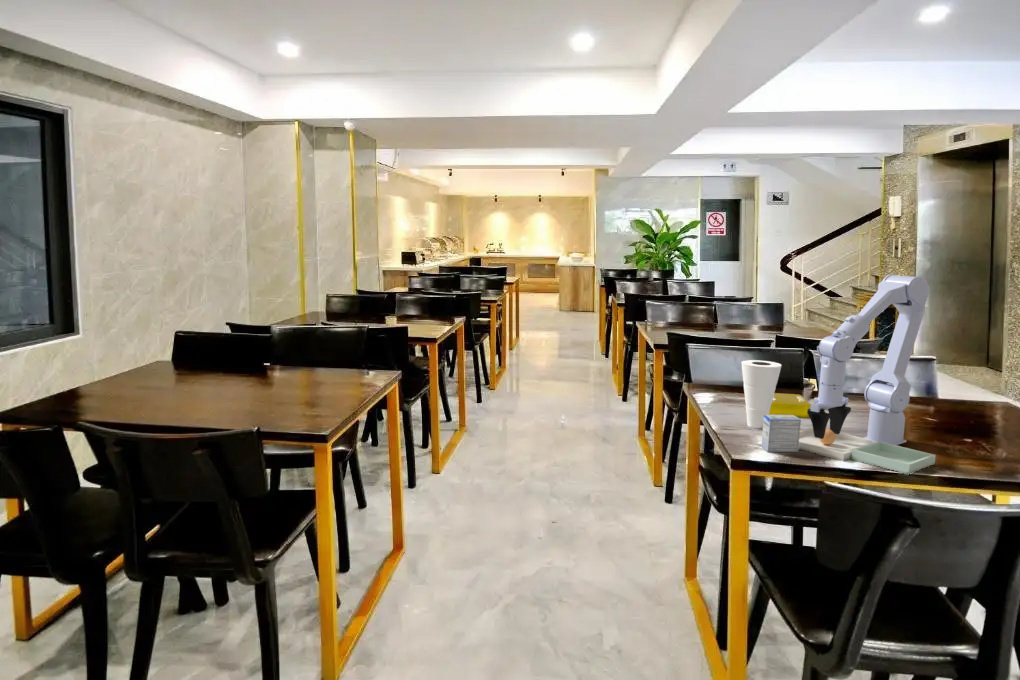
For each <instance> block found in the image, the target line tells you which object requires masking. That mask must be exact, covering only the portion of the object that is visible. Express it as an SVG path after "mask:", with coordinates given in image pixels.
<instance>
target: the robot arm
mask: <svg viewBox="0 0 1020 680" xmlns="http://www.w3.org/2000/svg"><path fill="white" fill-rule="evenodd" d="M930 292H931V288H930V286H929V284H928V282H927V281H926V279H925V278H924V277H922V276H911V275H910V276H907V275H897V274H893V273H892V274H888V275H886V276H885V277H884V278H883V279H882V280H881V281H880V282H879V283H878V285H877V291H876V292H875V294H874V295H872V296H871V298H870V299H869V300H868V301H867V303H866V304H865V305H864V307H863V308H862V309H861V310H860V311H859V313H858V314H853V315H850V316H847V317H846V318H844V321H843V322H842V324H841V325H840V326H839V327H838V328H836V330H834V331H833V332H832V334H831V335H828V336H825V337H823V338H822V339H821V340H820V341H819V344H818V345H817V346H816V352H817V354H818V355H819V363H820V374H819V385H818V395H817V397H814V398H813V402H812V403H810V404H811V408H810V409H808V410H807V413H808V415H809V420H810V421H811V427H813V431H814V436H815V437H816V438H820V439H823V438H824V435H825V431H826V429H827V426H828V422H829V430H832V431H833V432H834V433H835V434H839V433H841V430H842V428H843V425H844V422H845V421H846V418H847V417H848V415H849V414H850V412H851V411H852V410H851V409H852V408H851V407H849V406H848V405H849V397H845V396H844V390H845V377H846V369H847V368H846V367H847V365H846V364H847V361H848V360H849V359H850V358H851V357H852V356H853V354H854V349H855V348H856V346H857V345H856V344H857V343H858V342H859V341H860V340H861V339H862V338H864V336H865V335H866V334H867V333H868V332H869V331H870V323H871V322H873V320H876V318H877V317H878V316H879V315H881V313H883V312H884V311H885V310H886V309H887V308H888V307H889V306H891V305H893V306H894V308H896V310H897V311H898V313H899V314H898V317H897V321H896V323H895V326H894V330H893V333H892V337H891V339H890V343H889V345H888V349H887V352H886V356H885V359H884V361H883V365H882V369H881V370H880V371H878V372H876V373H875V374H873V375H872V376H871V379H870V382H869V383H868V384H867V385H866V387H865V388H864V393H863V394H864V396H863V397H864V399H865V402H867V407H869V413H868V414H869V415H868V416H869V417H868V424H867V435H866V436H864V437H863V438H865V439H869V440H873V441H877V442H884V443H889V444H893V445H897V446H900V445H901V444H902V445H903V444H904V443H907V440H906V439H904V433H905V424H906V417H905V413H904V410H905V409H906V408H907V407H908V405H909V402H910V391H911V387H912V386H911V384H910V382H909V381H908V380H907V379H906V377H905V375H906V371H907V368H908V365H909V363H910V359H911V357H912V352H913V349H914V347H915V343H916V341H917V338H918V337H917V336H918V334H919V331H920V328H921V324H922V321H923V317H924V315H925V311H926V305H927V301H928V297H929V294H930ZM825 410H828V412H826V411H825Z"/></svg>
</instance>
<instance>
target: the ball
mask: <svg viewBox="0 0 1020 680" xmlns="http://www.w3.org/2000/svg"><path fill="white" fill-rule="evenodd" d="M835 439H836V436H835V433H834V432H833V431H832V430H830V428H826V431H825V435H824V438H823V439H820V438H819V440H820V441H821V442H822V443H823V444H825V445H830V444H832V443H833V442H834V441H835Z"/></svg>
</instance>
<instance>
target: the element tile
mask: <svg viewBox="0 0 1020 680" xmlns="http://www.w3.org/2000/svg"><path fill="white" fill-rule="evenodd" d="M810 408H811V403H810V402H809V401H808V400H807V399H806V398H805V397H804V396H803V395H801V394H795V393H780V392H779V393H778V392H774V396H773V400H772V404H771V406H770V412H769V415H794V416H796V417H798V418H801V417H803V418H804V419H808V418H809V419H810V417H809V415H808V413H807V410H808V409H810Z"/></svg>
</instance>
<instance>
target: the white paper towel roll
mask: <svg viewBox="0 0 1020 680" xmlns="http://www.w3.org/2000/svg"><path fill="white" fill-rule="evenodd" d="M781 369H782V364H781V363H779V362H776V361H770V360H759V359H758V360H757V359H748V360H742V361H741V374H742V382H743V392H744V400H745V401H744V403H745V412H746V413H745V414H746V424H747V426H748V428H752V429H763V419H764V415H769V412H770V406H771V404H772V400H773V396H774V393H776V392H775V391H776V389H777V388H776V387H777V385H778V380H779V377H780V373H781Z"/></svg>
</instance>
